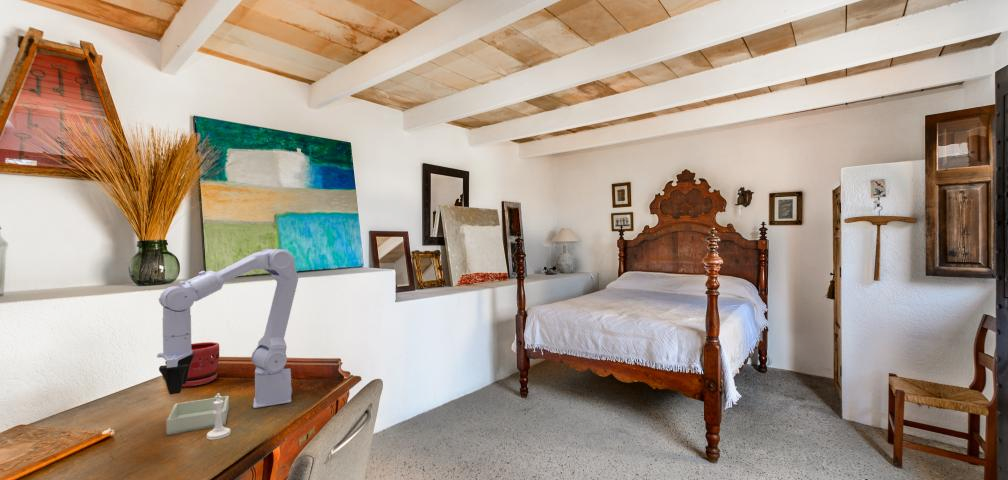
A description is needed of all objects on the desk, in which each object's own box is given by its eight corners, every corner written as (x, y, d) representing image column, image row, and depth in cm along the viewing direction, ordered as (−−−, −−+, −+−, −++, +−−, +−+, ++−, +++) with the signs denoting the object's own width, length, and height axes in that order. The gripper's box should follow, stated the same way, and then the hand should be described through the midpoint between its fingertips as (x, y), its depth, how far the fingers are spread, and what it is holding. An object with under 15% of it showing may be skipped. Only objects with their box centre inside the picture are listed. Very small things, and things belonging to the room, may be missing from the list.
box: (228, 408, 123) (228, 395, 123) (225, 425, 112) (225, 410, 112) (175, 417, 117) (175, 403, 117) (166, 435, 107) (166, 420, 106)
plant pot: (229, 376, 151) (228, 341, 151) (197, 390, 138) (197, 351, 138) (194, 374, 152) (194, 340, 152) (160, 388, 139) (159, 350, 139)
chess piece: (218, 440, 104) (218, 398, 104) (201, 438, 105) (200, 396, 105) (235, 431, 109) (235, 390, 109) (218, 429, 110) (218, 389, 110)
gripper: (163, 330, 115) (164, 382, 116) (150, 342, 102) (151, 401, 103) (196, 327, 119) (197, 378, 119) (187, 339, 106) (188, 395, 106)
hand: (178, 388), depth 111 cm, fingers open, 7 cm apart
